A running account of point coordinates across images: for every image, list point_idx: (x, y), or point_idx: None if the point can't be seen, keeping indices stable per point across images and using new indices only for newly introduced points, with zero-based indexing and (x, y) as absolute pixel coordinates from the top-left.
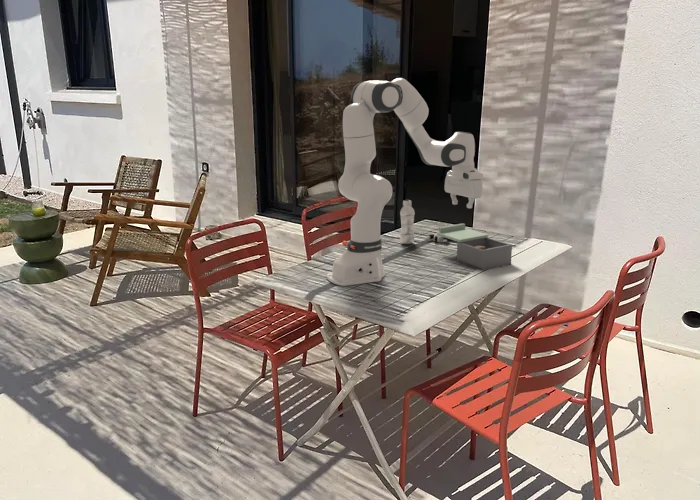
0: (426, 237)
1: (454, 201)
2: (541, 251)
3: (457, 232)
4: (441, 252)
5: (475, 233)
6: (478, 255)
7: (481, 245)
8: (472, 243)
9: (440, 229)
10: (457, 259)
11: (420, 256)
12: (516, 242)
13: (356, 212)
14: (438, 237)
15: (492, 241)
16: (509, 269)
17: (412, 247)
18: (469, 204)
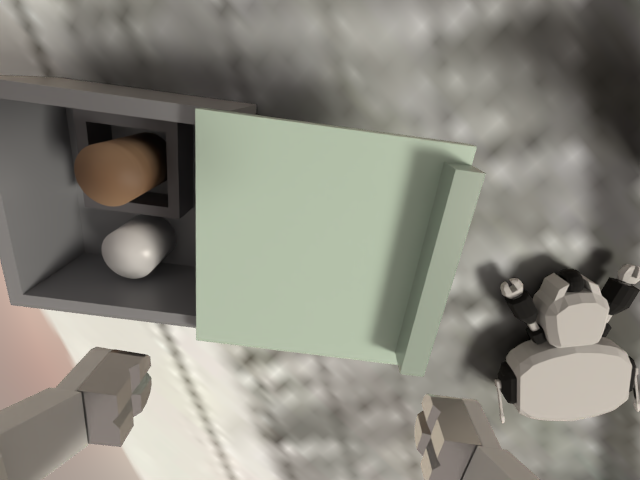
0: (637, 266)
1: (439, 428)
2: (160, 444)
3: (361, 253)
4: None
5: (263, 310)
6: (31, 79)
7: None
8: None
9: (459, 168)
10: (249, 104)
11: (467, 6)
12: (299, 471)
13: None
14: (561, 286)
15: (155, 305)
16: None
17: (624, 113)
18: (58, 390)
